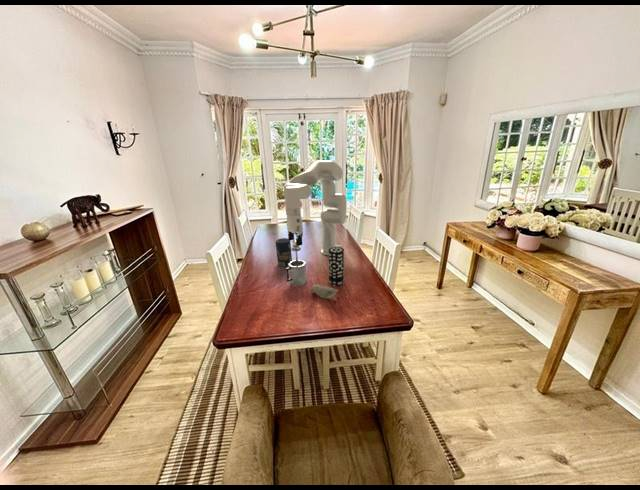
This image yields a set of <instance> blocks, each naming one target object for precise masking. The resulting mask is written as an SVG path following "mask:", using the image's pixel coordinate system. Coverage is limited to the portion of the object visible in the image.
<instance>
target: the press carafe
mask: <svg viewBox="0 0 640 490" xmlns="http://www.w3.org/2000/svg"><path fill="white" fill-rule="evenodd" d="M294 264H296V259H294V260H292V261H291V262H290V263H289V264H288V266H287V267H285V274H286V275H285V277H286V282H287V283H289V282H290V284H291V285H292V286H293V287H302V286H304V285H306V283H307V269H306V267H307V266H306V265H307V262H306V261H304V260H302V259H298V264H302V266H298V267H296V266H293V265H294Z"/></svg>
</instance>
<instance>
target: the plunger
mask: <svg viewBox="0 0 640 490" xmlns="http://www.w3.org/2000/svg"><path fill="white" fill-rule="evenodd" d="M291 241H292V242H291V243H292V247H291V252H295V260H296V264H294V265H293V266H296V267H298V266H302V264H298V260H299V257H298V252H299V251H301V250H302V248H301V247H300V246H297V245H296V239H294V240H291Z"/></svg>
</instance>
